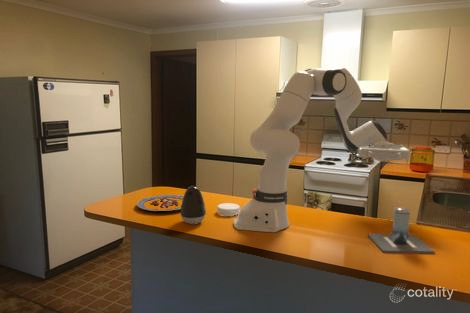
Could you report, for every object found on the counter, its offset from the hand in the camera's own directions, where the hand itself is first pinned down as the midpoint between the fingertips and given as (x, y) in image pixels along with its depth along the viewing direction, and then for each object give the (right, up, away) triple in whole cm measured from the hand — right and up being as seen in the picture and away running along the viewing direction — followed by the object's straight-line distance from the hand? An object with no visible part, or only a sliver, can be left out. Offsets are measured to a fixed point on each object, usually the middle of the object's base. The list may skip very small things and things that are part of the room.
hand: (385, 155), depth 147 cm
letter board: (-3, -31, -19) cm, 37 cm away
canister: (-3, -31, -20) cm, 36 cm away
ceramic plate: (-94, -24, +23) cm, 100 cm away
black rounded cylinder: (-78, -28, +1) cm, 83 cm away
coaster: (-64, -26, +14) cm, 70 cm away
